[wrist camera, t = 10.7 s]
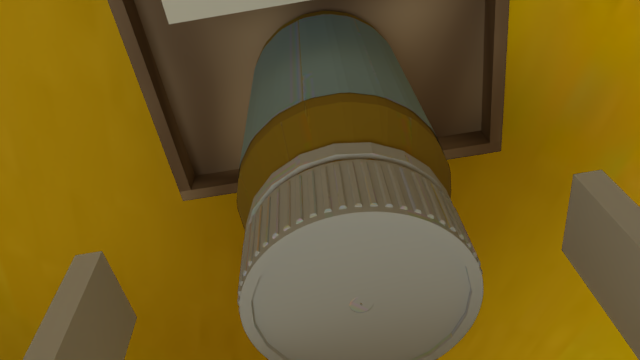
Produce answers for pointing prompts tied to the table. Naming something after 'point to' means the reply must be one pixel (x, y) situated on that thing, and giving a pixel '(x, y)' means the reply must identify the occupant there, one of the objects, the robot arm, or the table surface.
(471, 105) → the tray
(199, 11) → the carton
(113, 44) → the table surface
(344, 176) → the bottle
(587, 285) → the robot arm
